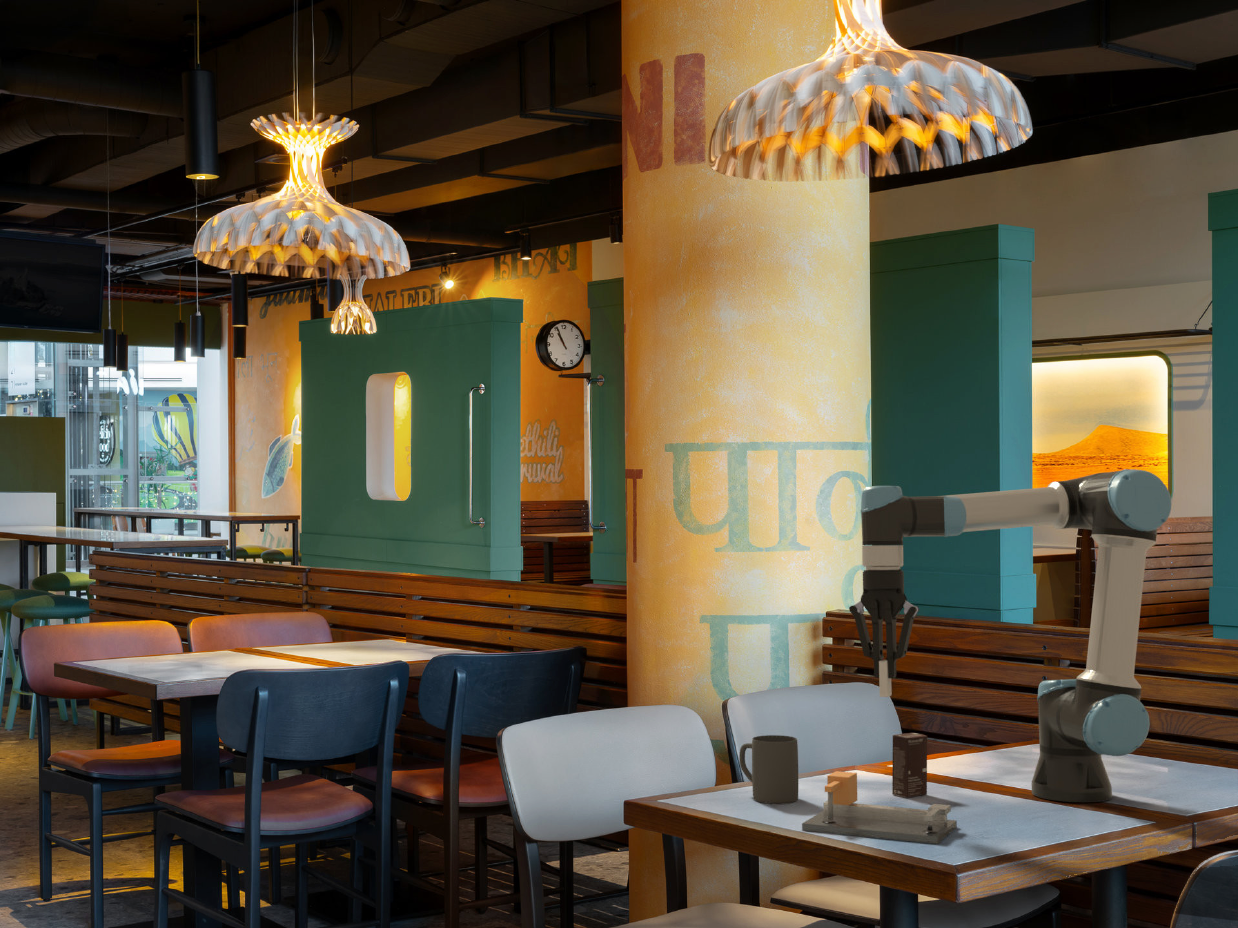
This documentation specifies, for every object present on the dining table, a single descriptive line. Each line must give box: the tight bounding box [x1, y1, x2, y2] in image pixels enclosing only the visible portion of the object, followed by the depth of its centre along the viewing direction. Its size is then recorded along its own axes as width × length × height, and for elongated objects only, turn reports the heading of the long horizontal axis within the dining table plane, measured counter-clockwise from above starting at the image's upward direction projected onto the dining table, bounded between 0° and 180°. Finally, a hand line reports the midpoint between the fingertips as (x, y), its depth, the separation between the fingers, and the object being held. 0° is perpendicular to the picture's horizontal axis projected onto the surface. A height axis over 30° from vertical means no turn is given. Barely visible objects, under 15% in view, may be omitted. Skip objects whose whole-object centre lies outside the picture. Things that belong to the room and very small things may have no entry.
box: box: [891, 732, 928, 798], centre depth 257 cm, size 6×4×12 cm
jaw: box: [824, 770, 858, 820], centre depth 231 cm, size 4×11×7 cm, turn 152°
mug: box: [738, 734, 799, 805], centre depth 255 cm, size 14×9×12 cm
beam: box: [823, 800, 952, 831], centre depth 227 cm, size 22×10×3 cm, turn 62°
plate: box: [801, 810, 958, 845], centre depth 227 cm, size 24×14×1 cm, turn 62°
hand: (885, 695), depth 236 cm, fingers closed
